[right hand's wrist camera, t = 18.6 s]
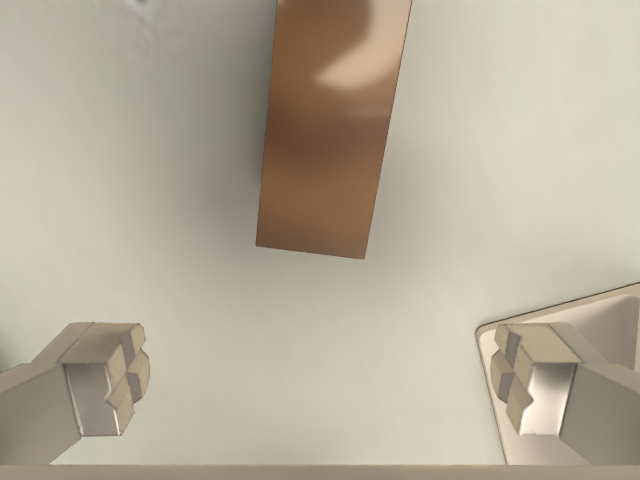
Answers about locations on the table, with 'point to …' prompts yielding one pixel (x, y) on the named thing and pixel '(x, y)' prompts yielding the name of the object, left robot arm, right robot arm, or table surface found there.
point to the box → (328, 122)
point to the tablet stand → (600, 331)
